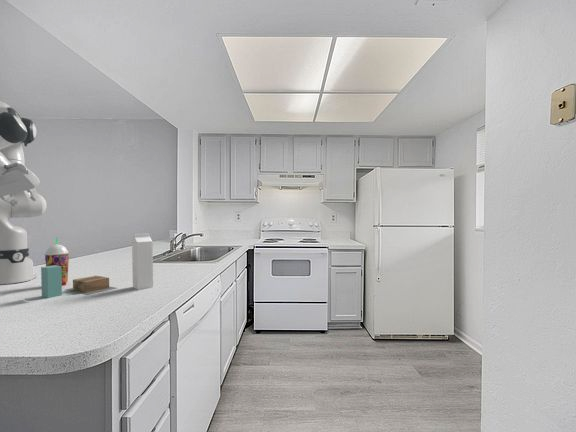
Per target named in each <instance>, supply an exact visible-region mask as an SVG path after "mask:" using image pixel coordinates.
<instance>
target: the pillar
mask: <svg viewBox="0 0 576 432" xmlns="http://www.w3.org/2000/svg"><path fill="white" fill-rule="evenodd" d="M40 270H41V271H40V275H41V277H40V278H41V282H40V283H41V297H42V298H45V299H52V298H55V297H60V296H62V295H63V286H62V274H61V266H56V265H54V266H46V265H45V266H41V268H40Z"/></svg>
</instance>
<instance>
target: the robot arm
mask: <svg viewBox="0 0 576 432" xmlns="http://www.w3.org/2000/svg"><path fill="white" fill-rule="evenodd" d="M36 127H37V126H36V125H35V124H34V121H33V120H32V119H30V118H26V117H21V116H20V115H19V113H18V111H16V110H15V109H14V108H13V107H11V106H10V105H9V104H8V103H6V102H4V101H1V100H0V285H8V284H15V283H16V284H18V283H22V282H28V281H32V280H33V279H36V278H38V275H37V274H35V272H34V271H35V270H34V262H33V260H32V259H31V258H30V257H29V256H30V250H29V249H30V248H29V247H28V233H27V230H26V229H25V228H23V227H21V226H19V225H16V224H13V223H11V222H10V221H9V219H12V218H14V219H16V218H33V217H40V216H42V215H44V214H45V212H46V210H47V209H48V208H47V205H48V204H47V201H46V198H44V196H42V195H41V194H39V192H37V189H36V188H37V187H39V185H40V184H41V181H40V179H39V178H38V176H37V175H36V174H35V173H33V172H32V171H31V169H29V168H28V167H27V166H26V160H25V154H24V149H23V145H24V147H28V145H29V144H32V142H34V141H35V139H36V136H37V132H38V131H37V128H36ZM22 144H23V145H22Z"/></svg>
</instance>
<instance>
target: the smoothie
mask: <svg viewBox="0 0 576 432" xmlns="http://www.w3.org/2000/svg"><path fill="white" fill-rule="evenodd" d="M69 257H70V251H69V250H68V248H67V247H66V246H64V245H63V244H59V240H58V237H56V238H55V244H52V245H50V246H49V247H48V248H47V249H46V251H45V253H44V260H45V261H44V262H45V267H46V266H54V265H56V266H61V274H62V287H63V286H66V285H67V283H68V280H69V264H70V263H69V262H70V260H69Z"/></svg>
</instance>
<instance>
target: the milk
mask: <svg viewBox="0 0 576 432" xmlns="http://www.w3.org/2000/svg"><path fill="white" fill-rule="evenodd" d="M133 235H134V237H133V239H132V240H131V252H132V253H131V260H132V263H131V265H132V267H131V268H132V288H134V289H136V290H143V289H150V288H154V264H153V263H154V260H153V259H154V257H153V256H154V254H153V250H154V249H153V244H154V243H153V242H154V241H153V240H152V238H151V233H150V232H140V233H139V232H138V233H137V232H136V233H134V234H133Z"/></svg>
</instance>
